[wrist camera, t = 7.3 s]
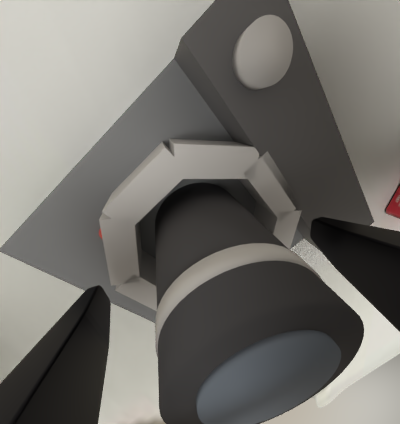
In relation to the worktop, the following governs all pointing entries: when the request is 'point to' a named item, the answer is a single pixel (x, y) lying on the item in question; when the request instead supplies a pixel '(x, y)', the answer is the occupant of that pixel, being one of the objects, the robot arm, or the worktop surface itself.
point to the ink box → (394, 205)
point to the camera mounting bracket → (200, 155)
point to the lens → (239, 315)
